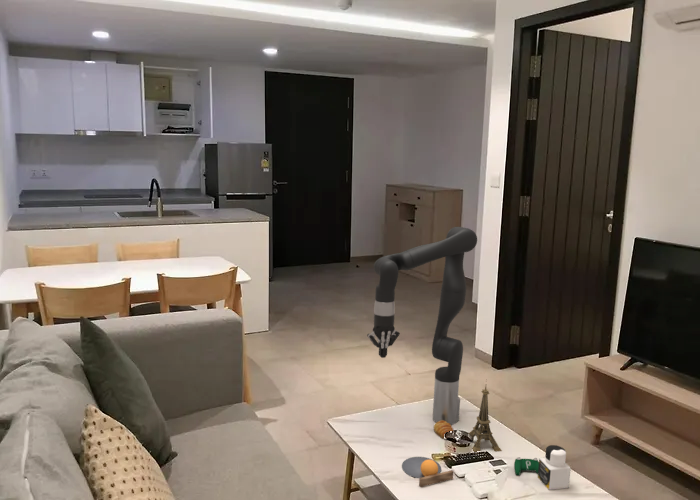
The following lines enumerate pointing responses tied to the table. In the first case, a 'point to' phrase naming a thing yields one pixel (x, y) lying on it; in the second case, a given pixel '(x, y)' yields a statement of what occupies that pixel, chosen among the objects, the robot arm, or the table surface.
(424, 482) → the strip
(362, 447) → the table surface
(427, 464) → the ball
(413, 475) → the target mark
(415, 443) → the table surface
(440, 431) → the pastry
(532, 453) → the table surface
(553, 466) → the medicine bottle
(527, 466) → the gaming controller
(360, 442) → the table surface
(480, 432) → the eiffel tower
